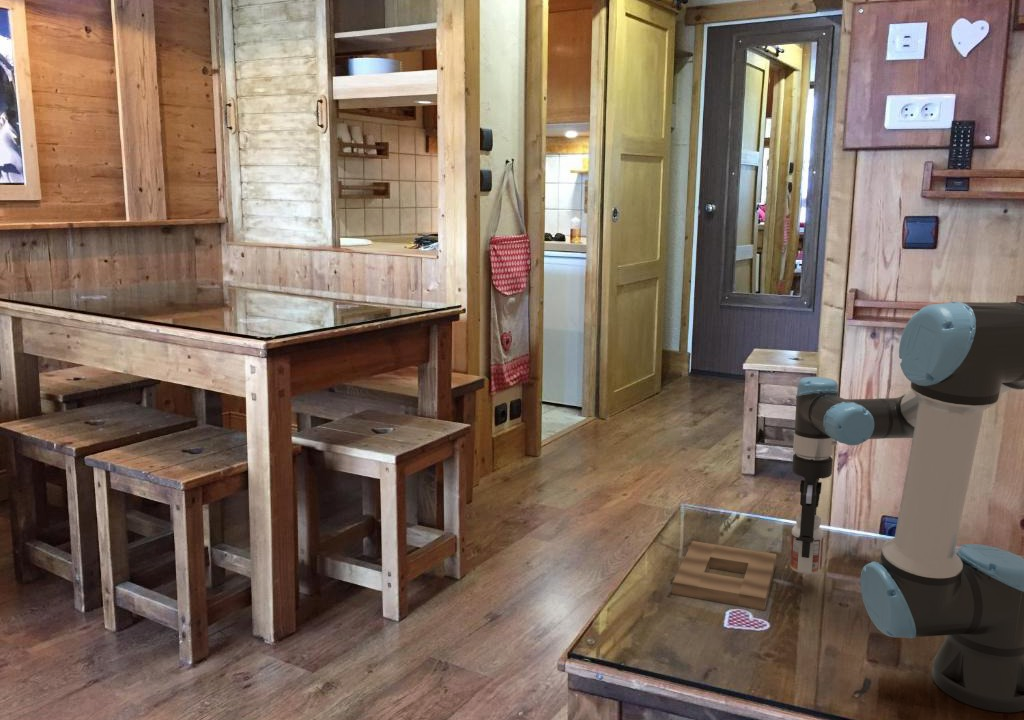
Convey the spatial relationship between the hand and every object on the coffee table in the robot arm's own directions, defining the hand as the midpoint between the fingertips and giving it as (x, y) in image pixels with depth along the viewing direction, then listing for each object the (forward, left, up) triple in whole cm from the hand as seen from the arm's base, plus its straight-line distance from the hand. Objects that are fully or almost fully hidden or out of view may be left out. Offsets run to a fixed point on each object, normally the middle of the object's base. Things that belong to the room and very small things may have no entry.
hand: (805, 564), depth 178 cm
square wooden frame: (-2, +15, -5) cm, 16 cm away
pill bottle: (0, 0, -1) cm, 1 cm away
